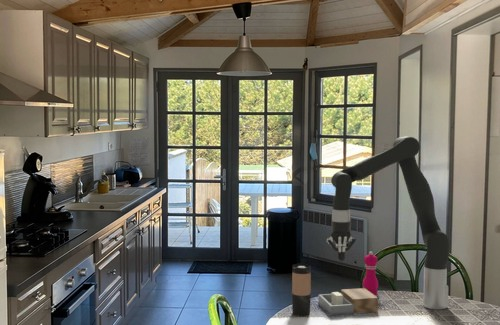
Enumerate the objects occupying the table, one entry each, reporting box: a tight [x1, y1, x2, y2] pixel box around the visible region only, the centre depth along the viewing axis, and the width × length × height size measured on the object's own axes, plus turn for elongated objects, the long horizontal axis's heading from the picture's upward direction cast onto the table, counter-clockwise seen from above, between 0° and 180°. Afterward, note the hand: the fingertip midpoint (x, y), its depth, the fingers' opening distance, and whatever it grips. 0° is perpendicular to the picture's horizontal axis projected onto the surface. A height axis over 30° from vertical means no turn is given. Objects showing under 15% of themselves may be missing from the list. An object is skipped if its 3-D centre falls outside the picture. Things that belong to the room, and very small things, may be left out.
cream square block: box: [331, 291, 343, 305], centre depth 239 cm, size 5×5×3 cm
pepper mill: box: [362, 251, 379, 296], centre depth 258 cm, size 7×7×20 cm
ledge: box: [340, 287, 379, 314], centre depth 240 cm, size 11×14×6 cm
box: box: [317, 293, 355, 317], centre depth 238 cm, size 10×16×4 cm, turn 11°
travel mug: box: [291, 263, 312, 317], centre depth 231 cm, size 8×8×20 cm
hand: (340, 260), depth 237 cm, fingers closed
